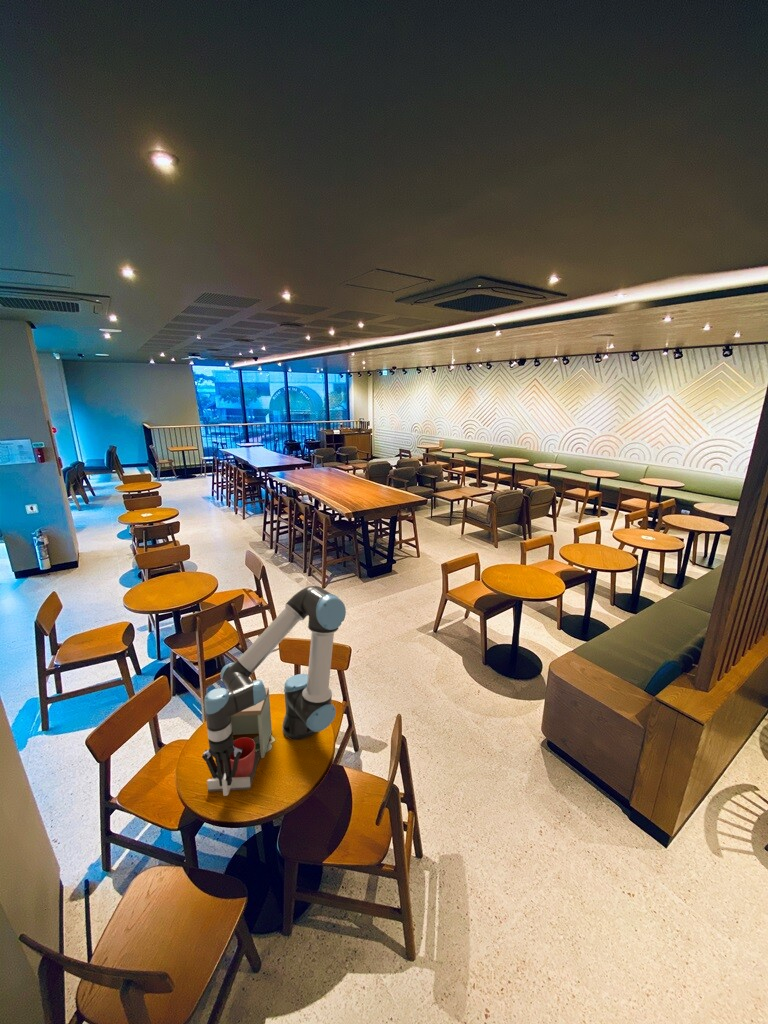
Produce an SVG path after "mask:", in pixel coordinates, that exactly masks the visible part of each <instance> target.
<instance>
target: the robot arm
mask: <svg viewBox="0 0 768 1024" xmlns="http://www.w3.org/2000/svg"><path fill="white" fill-rule="evenodd" d="M284 605H285V607H284V608H283V610H282V611H281V612H280V613H279V614H278V615H277V616H276V617H275V619H273V621H272V622H271V623H270V624H269V625H268V626H267V627H266V628H265V629H264V631H262V633H261V634H260V635H259V636H258V637H257V638H256V639H255V640H254V642H253V643H252V644H251V645H250V646H249V647H248V648H247V649H246V650H245V651H244V652H243V653H242V655H241V656H240V657H239V658H238V659H236V661H235V662H229V663H227V664H225V665H224V666H223V667H222V669H221V671H220V679H221V681H222V684H223V685H224V687H219V688H218V687H217V688H216V687H215V688H213V689H210V690H209V691H208V692H207V693H206V695H205V696H204V699H203V700H204V708H203V709H204V714H205V721H206V729H207V737H208V738H207V739H208V746H209V749H205V750H204V751H203V754H202V756H201V758H202V759H203V760H204V761H205V762H206V763H205V764H206V765H207V768H208V769H209V772H210V775H211V777H212V779H213V778H218V779H219V784H220V786H222V787H223V791H222V794H223V797H226V796H229V794H230V791H231V790H230V785H231V783H232V777H235V774H236V771H237V767H238V761H239V757H240V755H241V752H242V750H243V749H242V748H239V749H238V748H236V747H235V744H234V743H233V741H234V735H233V732H232V723H231V715H234V714H236V713H238V712H240V711H242V710H245V709H247V708H249V707H251V706H254V705H256V704H258V703H259V702H261V701H263V700H264V699H265V697H266V690H265V688H266V687H265V684H264V682H263V681H262V680H261V679H254V680H251V679H250V677H251V676H252V674H253V673H255V671H256V670H257V669H258V667H260V665H262V663H264V661H265V660H266V658H268V656H269V655H270V654H271V653H272V652H273V651H274V650H275V649H276V647H278V646H279V644H281V642H282V641H283V640H284V638H285V637H286V636H287V635H288V634H289V633H290V632H291V631H292V630H293V628H294V627H296V625H297V624H298V623H299V622H300V621H304V620H305V619H306V618H307V617H308V624H307V629H308V630H309V631H311V636H310V647H309V660H308V669H307V673H298V674H294V675H292V676H290V677H288V678H287V679H286V681H285V682H284V685H283V691H284V702H285V715H284V718H283V721H282V732H283V735H284V736H285V737H287V738H288V739H290V740H292V741H293V740H294V741H300V740H305V739H307V738H310V737H311V736H313V735H315V733H319V732H322V731H324V730H326V729H327V728H328V727H329V726H330V725H331V724H332V723H333V721H334V719H335V718H336V714H337V710H336V707H335V705H334V704H332V696H333V691H332V689H330V678H331V668H332V656H333V647H334V637H335V636H334V635H335V633H336V632H338V630H339V627H340V626H341V625H342V622H344V621H345V618H346V613H347V612H346V611H347V609H346V606H345V603H344V602H343V601H342V599H340V598H339V596H336V595H335V594H333V593H331V592H329V591H327V590H325V589H324V588H323V587H322V586H321V587H320V586H318V585H310V586H307V587H305V588H302V589H300V590H299V591H298V592H296V593H295V594H294V595H293V596H292V597H290V599H289V600H287V602H286V603H285V604H284ZM225 687H226V688H225ZM227 689H228V690H229V691H228V690H227ZM233 752H234V756H235V759H234V763H233V769H231V760H230V756H231V754H232V753H233ZM223 762H224V765H225V770H224V767H223ZM224 771H225V773H224Z"/></svg>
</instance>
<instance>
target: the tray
mask: <svg viewBox="0 0 768 1024" xmlns="http://www.w3.org/2000/svg"><path fill="white" fill-rule="evenodd" d="M260 759H261V752H260V750H255V758H254V766H253V770H252V772H251V773H250V774H249V775H248V776H247V777H237V778H234V777H232V783H231V785H230V791H243V790H251V788H252V785H253V782H254V777H255V776H256V771H257V768H258V764H259V762H260ZM223 767H224V770H225V765H224V762H223ZM224 773H225V771H224ZM206 784H207V791H208V792H223V787H222V786H220V784H219V779H218V778H213V777H212V778H207V780H206Z"/></svg>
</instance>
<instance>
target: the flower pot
mask: <svg viewBox="0 0 768 1024" xmlns="http://www.w3.org/2000/svg"><path fill="white" fill-rule="evenodd" d="M233 743H234V744H235V747H236V748H238V749H239V748H242V749H243V750H242V752H241V755H240V757H239V761H238V767H237V771H236V774H235V777H234V778H237V777H247V776H248V775H249V774H250V773H251V772H252V770H253V766H254V758H255V751H256V742H255V740H254V739H253V738H252V737H247V736H243V737H239V738H237V739H235V740H234V739H233ZM234 759H235V756H234V752H233V753H232V754H231V756H230V760H231V769H233V763H234Z"/></svg>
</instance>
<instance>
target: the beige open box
mask: <svg viewBox="0 0 768 1024" xmlns="http://www.w3.org/2000/svg"><path fill="white" fill-rule="evenodd" d="M226 689H227V688H226ZM227 690H228V689H227ZM265 690H266V697H265V699H264V700H263V701H261V702H259V703H258V704H256V705H254V706H251V707H249V708H247V709H245V710H242V711H240V712H238V713H236V714H234V715H231V723H232V732H233V736H235V735H237V736H238V735H253V734H254V735H255V734H256V735H257V734H258V737H259V738H258V739H259V748H260V749H259V751H260V759H263V758H265V757H266V752H267V749H268V745H269V742H270V738H271V735H272V733H273V729H272V715H271V702H270V701H271V700H270V689H269V687H265ZM228 691H229V690H228Z"/></svg>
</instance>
